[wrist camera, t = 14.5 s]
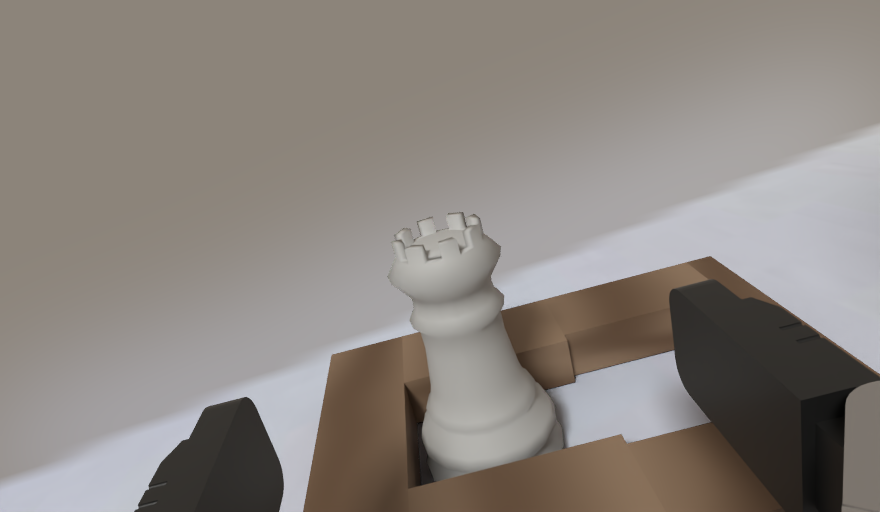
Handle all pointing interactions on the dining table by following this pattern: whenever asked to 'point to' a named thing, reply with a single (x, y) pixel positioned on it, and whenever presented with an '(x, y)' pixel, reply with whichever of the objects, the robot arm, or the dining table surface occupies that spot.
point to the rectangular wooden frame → (551, 365)
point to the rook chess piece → (469, 353)
